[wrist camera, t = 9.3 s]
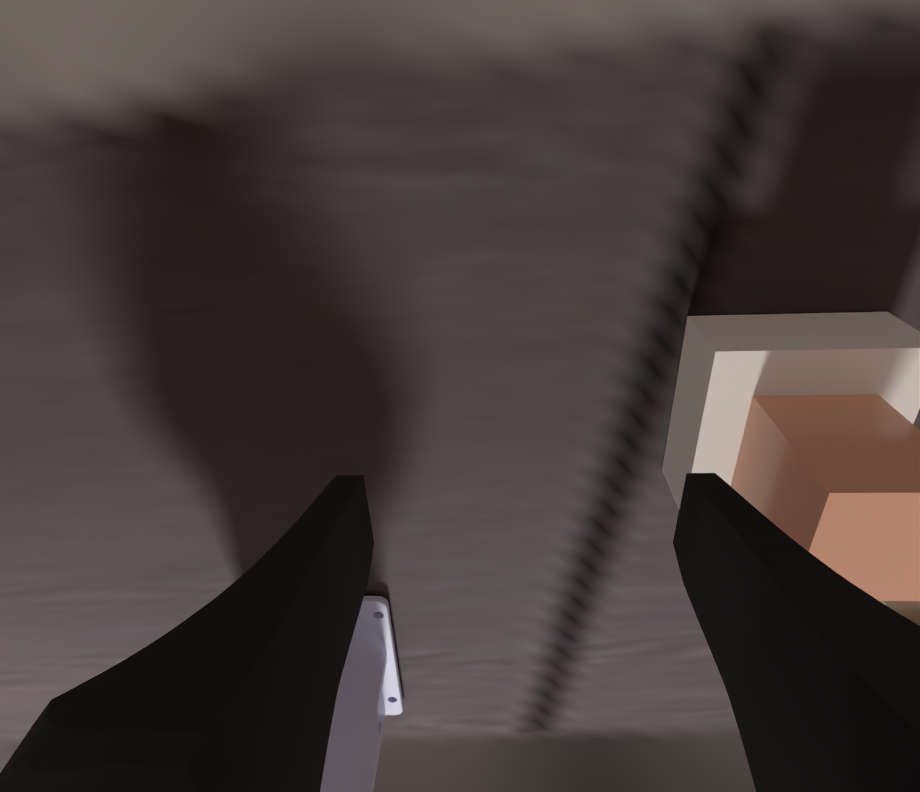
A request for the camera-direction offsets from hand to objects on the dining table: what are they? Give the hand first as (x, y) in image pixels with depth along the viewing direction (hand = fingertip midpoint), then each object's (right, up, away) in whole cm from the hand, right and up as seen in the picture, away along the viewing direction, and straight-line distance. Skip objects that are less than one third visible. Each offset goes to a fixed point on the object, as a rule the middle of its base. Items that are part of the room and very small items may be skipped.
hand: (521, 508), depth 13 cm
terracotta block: (+10, +1, +7) cm, 13 cm away
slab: (+11, +3, +10) cm, 14 cm away
